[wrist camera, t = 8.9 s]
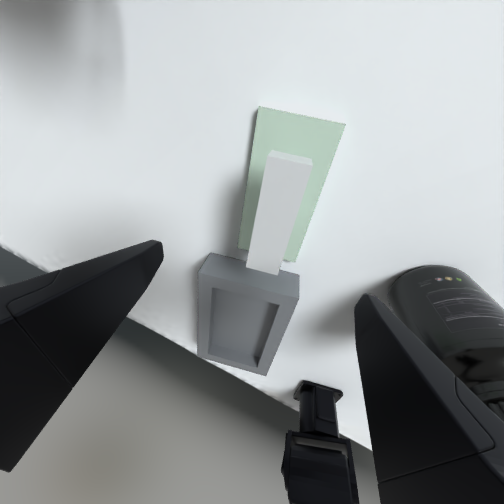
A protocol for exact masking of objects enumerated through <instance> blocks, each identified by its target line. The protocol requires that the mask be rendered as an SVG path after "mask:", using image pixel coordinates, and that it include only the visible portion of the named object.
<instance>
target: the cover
mask: <svg viewBox="0 0 504 504" xmlns="http://www.w3.org/2000/svg"><path fill="white" fill-rule="evenodd" d="M345 125H346V124H343V123H338V122H334V121H329V120H324V119H319V118H314V117H309V116H305V115H300V114H295V113H290V112H285V111H280V110H276V109H271V108H266V107H261V106H259V108H258V114H257V121H256V127H255V134H254V141H253V147H252V154H251V160H250V167H249V173H248V180H247V187H246V193H245V200H244V206H243V213H242V220H241V226H240V233H239V239H238V246H237V248H240V249H244V250H248V251H249V253H248V258H247V263H246V267H247V268H251V269H255V270H259V271H262V272H266V273H270V274H274V275H278V273H279V270H280V267H281V264H282V261H283V260H287V261H291V262H295V261H296V258H297V256H298V253H299V250H300V248H301V245H302V242H303V239H304V237H305V234H306V231H307V229H308V226H309V223H310V220H311V218H312V215H313V212H314V210H315V207H316V204H317V201H318V199H319V196H320V193H321V191H322V188H323V185H324V182H325V180H326V177H327V174H328V172H329V169H330V166H331V163H332V161H333V158H334V155H335V152H336V150H337V147H338V144H339V142H340V139H341V136H342V133H343V131H344V128H345Z"/></svg>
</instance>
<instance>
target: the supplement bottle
mask: <svg viewBox="0 0 504 504" xmlns="http://www.w3.org/2000/svg"><path fill="white" fill-rule="evenodd" d="M388 301H389V304H390V307H391V309H392V311H393V314H394V315H395V316H396V317H397V318H398V319H399V320H400V321H401V322H402V323H403V324H404V325H405V326H406V327H407V328H408V329H409V330H410V331H411V332H412V333H413V334H414V335H415V336H416V337H417V338H418V339H419V340H420V341H421V342H422V343H423V344H424V345H425V346H426V347H427V348H428V349H429V350H430V351H431V352H432V353H433V354H434V355H435V356H436V357H437V358H438V359H439V360H440V361H441V362H442V363H443V364H444V365H445V366H446V367H447V368H448V369H449V370H450V371H451V372H452V373H453V374H454V375H455V377H458V378H459V379H460V380H461V381H462V382H463V384H464V385H465V386H466V387H467V388H468V389H469V390H471V391H472V392H473V393H474V394H475V395H476V396H477V397H478V398H479V399H480V400H481V401H482V402H483V403H484V404H485V405H486V406H487V407H488V408H489V409H490V410H491V411H492V412H493V413H495V414H496V415H497V416H498V417H499V418H500V419H501V420H502V421H503V422H504V309H503V308H502V307H501V306H500V305H499V304H498V303H497V302H496V301H495V300H494V299H493V298H491V297H490V296H489V295H488V294H487V293H486V292H485V291H484V290H483V289H482V288H481V287H480V286H479V285H478V284H477V283H476V282H475V281H473V280H472V279H471V278H470V277H469V276H468V275H467V274H465V273H464V272H462V271H460V270H458V269H456V268H453V267H448V266H440V265H433V266H425V267H420V268H417V269H414V270H411V271H409V272H407V273H405V274H403V275H402V276H400V277H399V278H398V279H397V280H396V281H395V282H394V283H393V284H392V286H391V287H390V290H389V293H388Z"/></svg>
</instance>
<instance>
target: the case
mask: <svg viewBox="0 0 504 504" xmlns="http://www.w3.org/2000/svg"><path fill="white" fill-rule="evenodd" d="M246 263H247V262H246V261H242V260H238V259H234V258H230V257H226V256H222V255H218V254H214V253H210V255H209V256H208V258H207V259H206V261H205V262H204V264H203V265H202V267H201V269H200V270H199V272H198V331H197V356H198V357H201V358H205V359H208V360H211V361H215V362H218V363H222V364H225V365H229V366H232V367H236V368H239V369H242V370H246V371H249V372H253V373H256V374H260V375H263V376H266V375H267V373H268V370H269V368H270V366H271V363H272V361H273V359H274V356H275V354H276V352H277V349H278V347H279V345H280V342H281V340H282V338H283V335H284V333H285V330H286V328H287V326H288V323H289V321H290V319H291V316H292V314H293V312H294V309H295V307H296V305H297V302H298V300H299V275H298V274H294V273H290V272H286V271H282V270H279V273H278V275H274V274H270V273H266V272H262V271H259V270H255V269H251V268H247V267H246Z"/></svg>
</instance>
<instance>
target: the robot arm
mask: <svg viewBox="0 0 504 504" xmlns="http://www.w3.org/2000/svg"><path fill="white" fill-rule="evenodd" d="M163 258H164V254H163V246H162V243H161V242H160V241H156V240H149V241H146V242H143V243H140V244H137V245H134V246H131V247H128V248H125V249H122V250H119V251H115V252H112V253H109V254H106V255H103V256H100V257H97V258H94V259H91V260H88V261H84V262H81V263H78V264H75V265H72V266H69V267H66V268H63V269H61V270H56V271H53V272H50V273H47V274H44V275H41V276H38V277H34V278H31V279H28V280H24V281H21V282H17V283H14V284H10V285H7V286H3V287H0V470H3V471H6V472H11V470H12V469H13V468H14V467H15V466H16V464H17V463H18V462H19V460H20V459H21V458H22V456H23V455H24V454H25V452H26V451H27V450H28V448H29V447H30V445H31V444H32V443H33V442H34V440H35V439H36V437H37V436H38V435H39V433H40V432H41V430H42V429H43V428H44V427H45V425H46V424H47V423H48V421H49V420H50V418H51V417H52V416H53V414H54V413H55V412H56V411H57V409H58V408H59V406H60V405H61V404H62V402H63V401H64V400H65V398H66V397H67V396H68V394H69V393H70V392H71V390H72V388H73V387H74V386H75V385H76V383H77V382H78V381H79V379H80V378H81V377H82V375H83V374H84V372H85V371H86V369H87V368H88V367H89V366H90V364H91V363H92V362H93V360H94V359H95V357H96V356H97V355H98V354H99V352H100V351H101V349H102V348H103V347H104V345H105V344H106V343H107V341H108V340H109V339H110V337H111V336H112V335H113V333H114V332H115V331H116V329H117V328H118V326H119V325H120V324H121V323H122V321H123V320H124V318H125V317H126V316H127V314H128V313H129V312H130V310H131V309H132V308H133V306H134V305H135V304H136V302H137V301H138V300H139V298H140V297H141V296H142V294H143V293H144V291H145V290H146V289H147V287H148V285H149V284H150V282H151V280H152V279H153V277H154V275H155V273H156V272H157V270H158V268H159V267H160V265H161V263H162V261H163ZM354 317H355V340H356V350H357V356H358V362H359V369H360V375H361V381H362V388H363V394H364V400H365V406H366V413H367V419H368V425H369V432H370V438H371V444H372V450H373V457H374V463H375V469H376V476H377V481H378V489H379V496H380V502H381V504H504V422H503V421H502V420H501V419H500V418H499V417H498V416H497V415H496V414H495V413H493V412H492V411H491V410H490V409H489V408H488V407H487V406H486V405H485V404H484V403H483V402H482V401H481V400H480V399H479V398H478V397H477V396H476V395H475V394H474V393H473V392H472V391H471V390H469V389H468V388H467V387H466V386H465V385H464V384H463V382H462V381H461V380H460V379H459V378H458V377H455V375H454V374H453V373H452V372H451V371H450V370H449V369H448V368H447V367H446V366H445V365H444V364H443V363H442V362H441V361H440V360H439V359H438V358H437V357H436V356H435V355H434V354H433V353H432V352H431V351H430V350H429V349H428V348H427V347H426V346H425V345H424V344H423V343H422V342H421V341H420V340H419V339H418V338H417V337H416V336H415V335H414V334H413V333H412V332H411V331H410V330H409V329H408V328H407V327H406V326H405V325H404V324H403V323H402V322H401V321H400V320H399V319H398V318H397V317H396V316H395V315H394V314H393V313H392V312H391V311H390V310H389V309H388V308H387V307H386V306H385V305H384V304H383V303H382V302H381V301H380V300H379V299H378V298H377V297H376V296H375V295H371V294H367V293H365V294H363V295H362V297H361V298H360V300H359V301H358V303H357V304H356V306H355V309H354ZM342 396H343V392H342V391H339V390H335V389H332V388H328V387H325V386H321V385H318V384H315V383H311V382H308V381H303V382H302V384H301V385H300V387H299V388H298V390H297V391H296V393H295V394H294V399H295V400H298V401H300V411H299V414H300V415H299V417H300V418H299V419H300V420H299V432H296V431H292V430H288V433H286V441H285V451H284V456H283V462H282V467H281V473H282V475H283V477H284V481H285V488H286V491H288V499H289V504H359V497H358V489H357V482H356V476H355V470H354V463H353V457H352V450H351V444H350V439H348V438H346V439H342V438H339V430H338V421H337V412H336V402H337V401H338V400H339V399H340V398H341V397H342ZM346 456H347V457H346Z"/></svg>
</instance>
